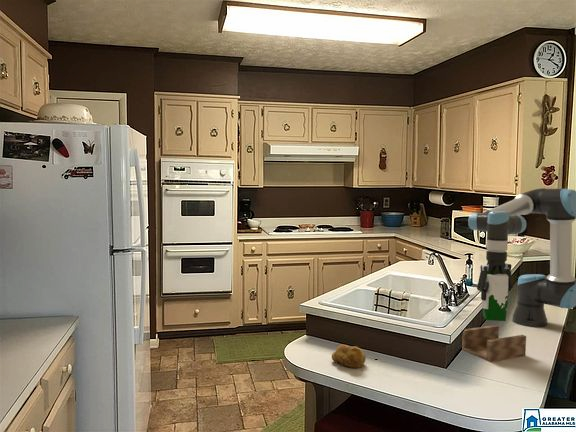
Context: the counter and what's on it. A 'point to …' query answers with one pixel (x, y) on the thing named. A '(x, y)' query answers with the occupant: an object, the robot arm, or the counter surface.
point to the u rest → (492, 344)
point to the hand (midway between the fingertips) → (494, 307)
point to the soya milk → (497, 297)
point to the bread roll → (349, 356)
